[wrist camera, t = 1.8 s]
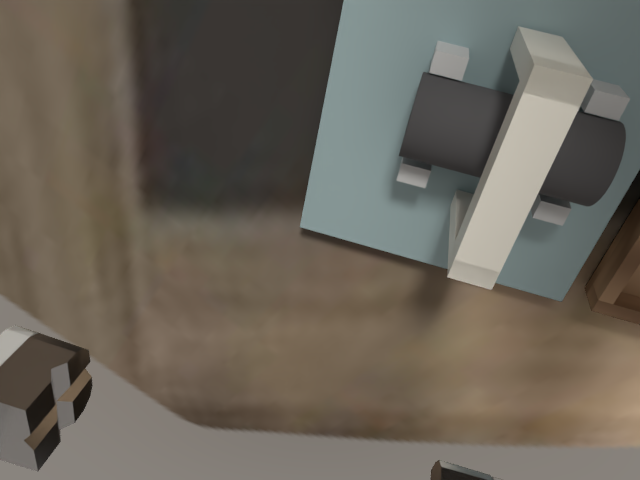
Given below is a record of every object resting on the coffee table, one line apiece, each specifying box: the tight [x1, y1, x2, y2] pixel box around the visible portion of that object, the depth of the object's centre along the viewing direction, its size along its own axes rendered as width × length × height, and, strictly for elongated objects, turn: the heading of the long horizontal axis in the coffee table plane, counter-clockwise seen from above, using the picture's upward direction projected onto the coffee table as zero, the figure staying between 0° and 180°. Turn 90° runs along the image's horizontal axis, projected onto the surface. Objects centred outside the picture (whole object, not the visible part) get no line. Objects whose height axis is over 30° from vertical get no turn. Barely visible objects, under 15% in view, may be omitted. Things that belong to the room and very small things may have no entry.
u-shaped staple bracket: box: [447, 26, 593, 290], centre depth 24 cm, size 10×2×7 cm, turn 169°
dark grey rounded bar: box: [399, 72, 626, 207], centre depth 25 cm, size 4×9×4 cm, turn 79°
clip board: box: [300, 0, 640, 302], centre depth 26 cm, size 18×16×3 cm
